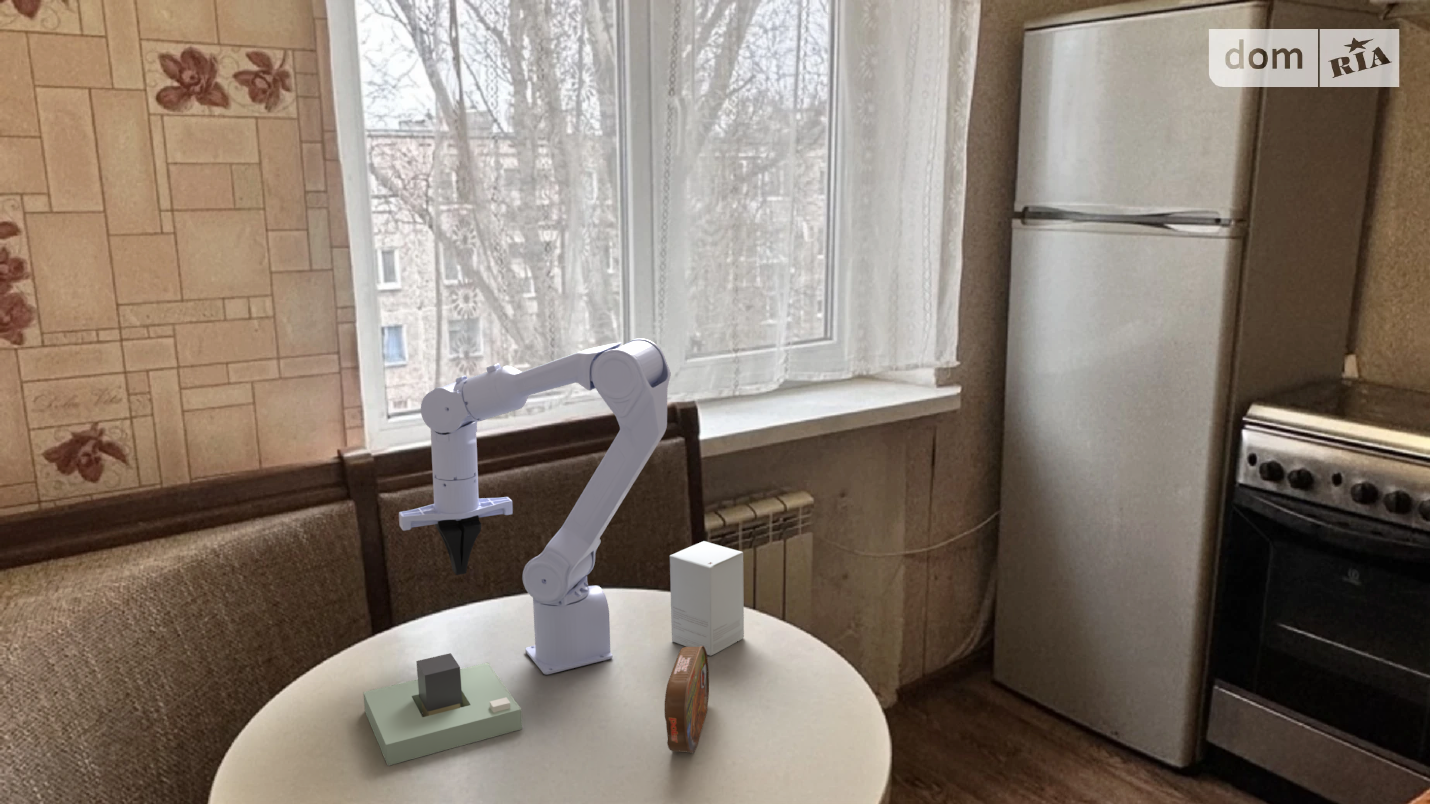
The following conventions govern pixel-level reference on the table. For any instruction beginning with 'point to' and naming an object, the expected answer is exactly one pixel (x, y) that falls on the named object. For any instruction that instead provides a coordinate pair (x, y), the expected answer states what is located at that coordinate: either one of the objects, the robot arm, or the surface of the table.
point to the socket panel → (440, 716)
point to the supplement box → (707, 596)
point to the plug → (439, 684)
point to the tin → (687, 699)
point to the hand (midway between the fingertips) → (459, 571)
